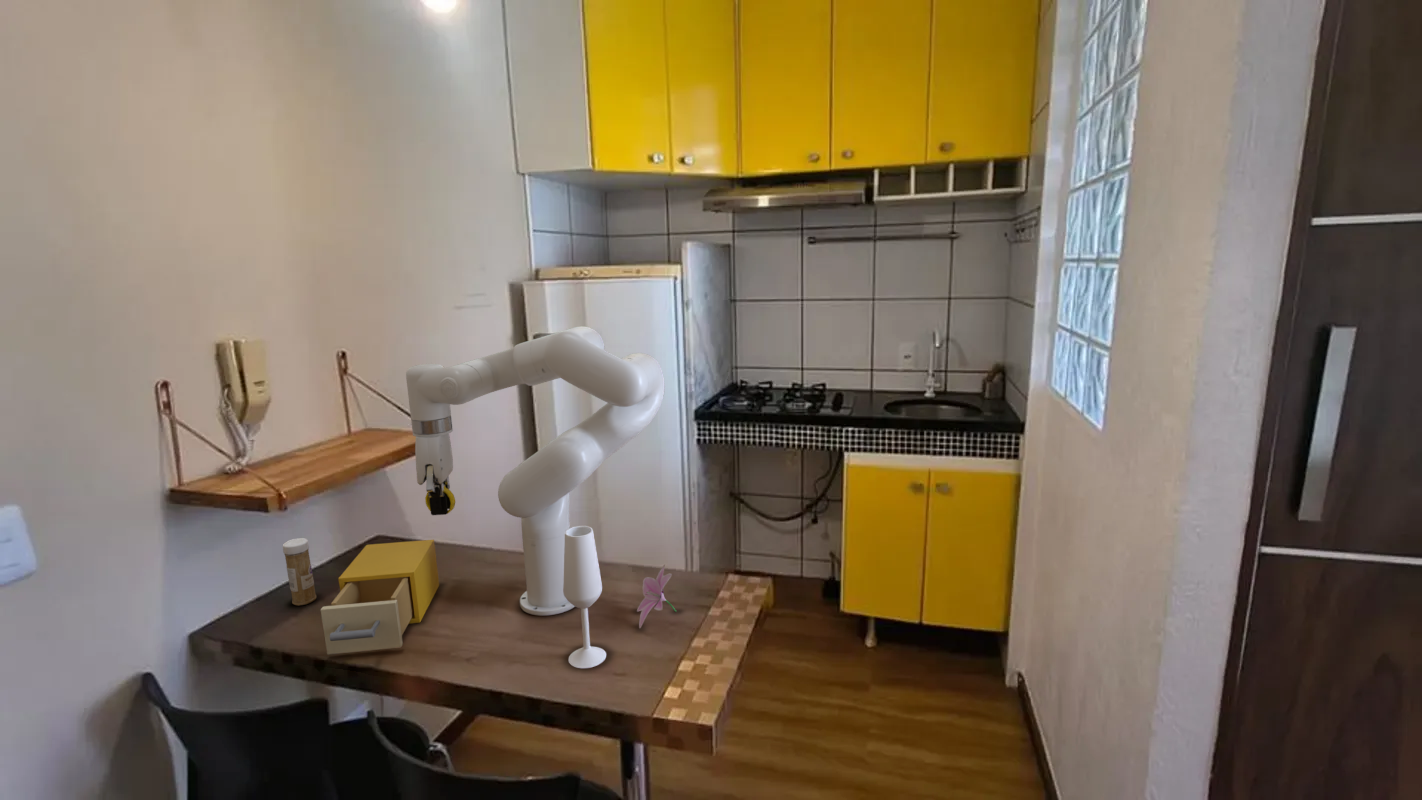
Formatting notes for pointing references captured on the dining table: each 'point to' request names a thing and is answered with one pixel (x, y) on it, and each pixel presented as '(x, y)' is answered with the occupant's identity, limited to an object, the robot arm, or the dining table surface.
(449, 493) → the watch
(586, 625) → the champagne flute
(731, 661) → the dining table surface
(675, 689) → the dining table surface
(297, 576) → the sprinkles bottle
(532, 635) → the dining table surface
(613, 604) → the dining table surface
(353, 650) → the drawer
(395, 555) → the cabinet
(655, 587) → the lily
